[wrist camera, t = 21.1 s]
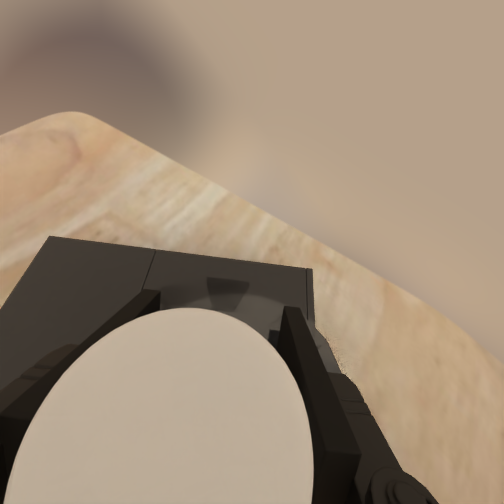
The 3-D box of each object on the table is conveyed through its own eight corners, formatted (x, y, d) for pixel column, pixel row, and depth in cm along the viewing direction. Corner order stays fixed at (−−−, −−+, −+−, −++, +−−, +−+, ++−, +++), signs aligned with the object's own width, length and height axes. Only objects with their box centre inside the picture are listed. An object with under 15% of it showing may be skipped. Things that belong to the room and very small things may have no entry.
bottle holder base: (322, 290, 17) (338, 271, 15) (349, 690, 9) (397, 804, 6) (75, 260, 17) (48, 235, 14) (-144, 652, 8) (-302, 760, 6)
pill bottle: (123, 453, 11) (-188, 609, 3) (190, 337, 14) (136, 242, 6) (235, 521, 10) (274, 1044, 2) (281, 383, 13) (375, 351, 5)
